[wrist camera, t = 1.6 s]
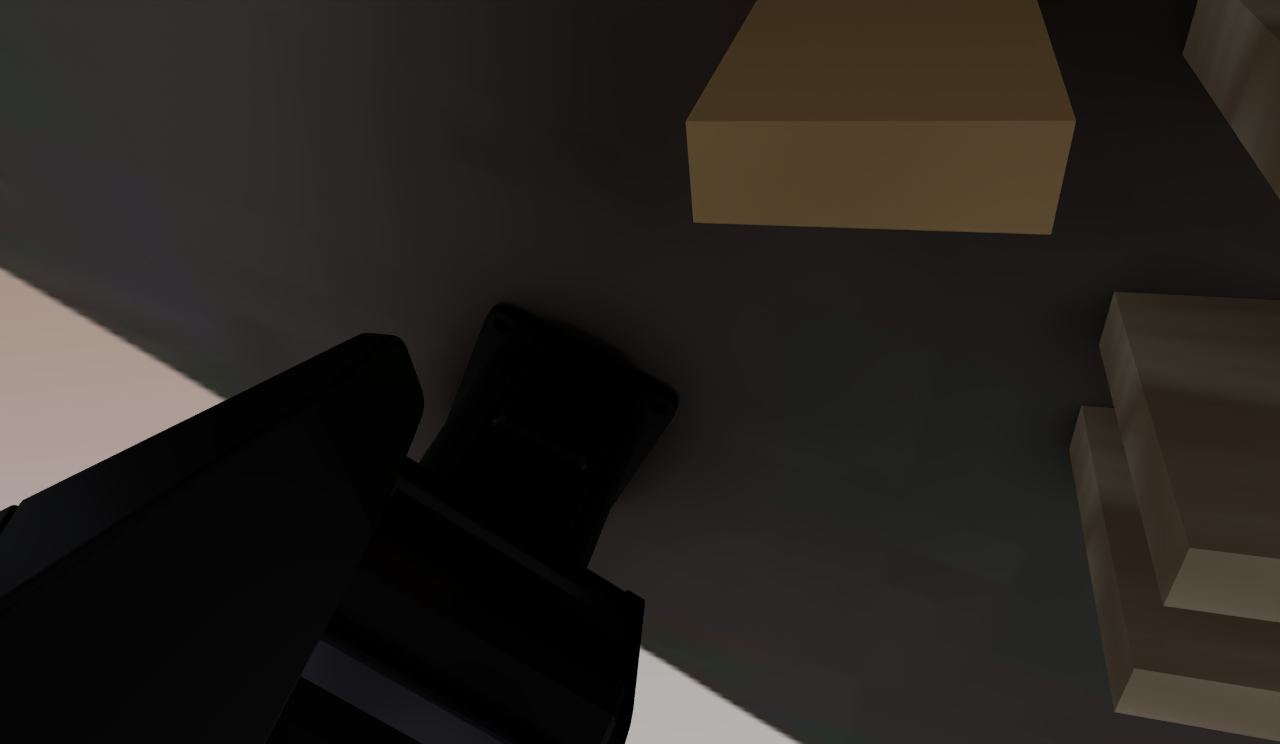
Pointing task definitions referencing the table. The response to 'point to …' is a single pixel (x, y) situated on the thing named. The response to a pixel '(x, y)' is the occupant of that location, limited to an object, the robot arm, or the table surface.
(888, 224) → the domino
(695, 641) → the table surface
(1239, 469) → the domino
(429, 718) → the robot arm
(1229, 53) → the domino
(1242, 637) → the domino
